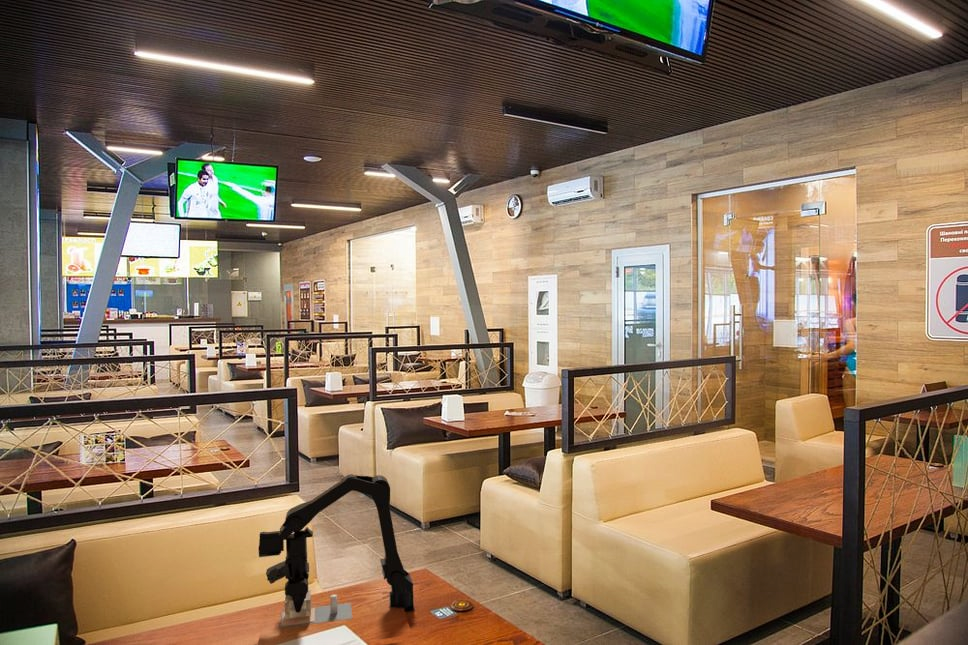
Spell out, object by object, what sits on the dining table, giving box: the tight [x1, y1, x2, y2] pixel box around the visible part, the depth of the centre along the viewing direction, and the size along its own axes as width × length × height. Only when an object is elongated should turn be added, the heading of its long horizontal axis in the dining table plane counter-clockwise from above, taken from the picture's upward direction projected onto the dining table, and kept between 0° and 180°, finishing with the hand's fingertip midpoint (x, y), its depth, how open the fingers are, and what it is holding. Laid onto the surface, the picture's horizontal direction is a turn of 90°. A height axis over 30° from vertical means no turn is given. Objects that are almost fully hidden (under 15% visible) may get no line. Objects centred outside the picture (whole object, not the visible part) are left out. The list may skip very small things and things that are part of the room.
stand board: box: [279, 594, 353, 629], centre depth 193 cm, size 20×11×6 cm, turn 104°
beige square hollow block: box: [284, 589, 312, 619], centre depth 192 cm, size 7×7×4 cm
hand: (298, 606), depth 192 cm, fingers closed on beige square hollow block, 7 cm apart
